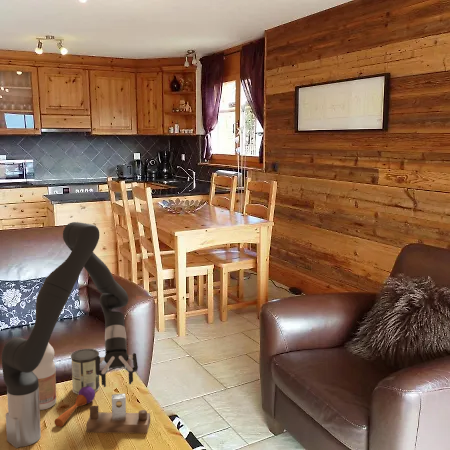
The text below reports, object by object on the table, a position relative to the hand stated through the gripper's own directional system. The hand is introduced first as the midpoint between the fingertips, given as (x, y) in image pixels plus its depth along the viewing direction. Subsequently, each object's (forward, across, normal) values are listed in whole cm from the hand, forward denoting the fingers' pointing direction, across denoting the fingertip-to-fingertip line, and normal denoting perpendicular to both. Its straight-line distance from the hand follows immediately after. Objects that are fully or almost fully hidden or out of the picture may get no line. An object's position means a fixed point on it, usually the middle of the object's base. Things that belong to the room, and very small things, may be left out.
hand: (117, 384), depth 170 cm
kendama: (+4, -14, +14) cm, 20 cm away
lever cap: (+11, 0, +2) cm, 11 cm away
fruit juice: (-2, -26, +19) cm, 32 cm away
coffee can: (-8, -11, +25) cm, 28 cm away
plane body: (+13, 0, +4) cm, 13 cm away
